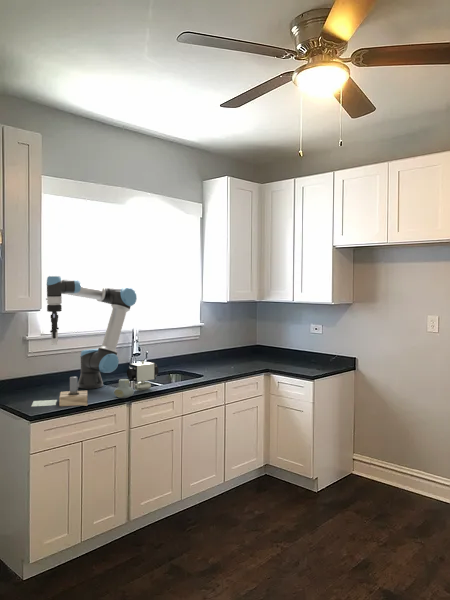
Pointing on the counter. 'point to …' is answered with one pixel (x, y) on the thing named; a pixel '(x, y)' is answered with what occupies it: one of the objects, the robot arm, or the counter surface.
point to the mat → (44, 403)
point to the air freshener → (123, 389)
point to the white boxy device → (142, 374)
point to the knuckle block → (73, 399)
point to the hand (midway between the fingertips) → (54, 342)
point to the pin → (73, 385)
